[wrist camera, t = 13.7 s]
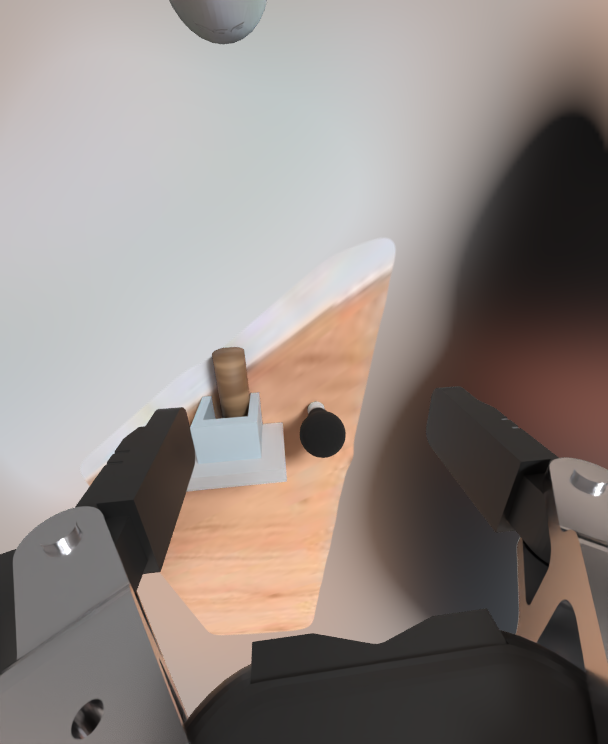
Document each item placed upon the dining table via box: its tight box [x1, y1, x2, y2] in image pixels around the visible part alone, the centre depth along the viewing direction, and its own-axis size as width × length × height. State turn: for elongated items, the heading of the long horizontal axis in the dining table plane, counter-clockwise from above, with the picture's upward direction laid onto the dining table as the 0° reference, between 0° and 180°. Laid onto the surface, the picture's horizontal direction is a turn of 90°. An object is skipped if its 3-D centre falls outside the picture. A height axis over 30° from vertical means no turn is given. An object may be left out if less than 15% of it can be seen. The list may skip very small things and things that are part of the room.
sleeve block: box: [190, 393, 262, 464], centre depth 40 cm, size 6×8×8 cm
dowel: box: [212, 347, 250, 418], centre depth 40 cm, size 11×4×4 cm, turn 2°
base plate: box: [187, 422, 287, 491], centre depth 41 cm, size 2×14×10 cm, turn 91°
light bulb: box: [300, 402, 345, 458], centre depth 40 cm, size 6×6×10 cm
